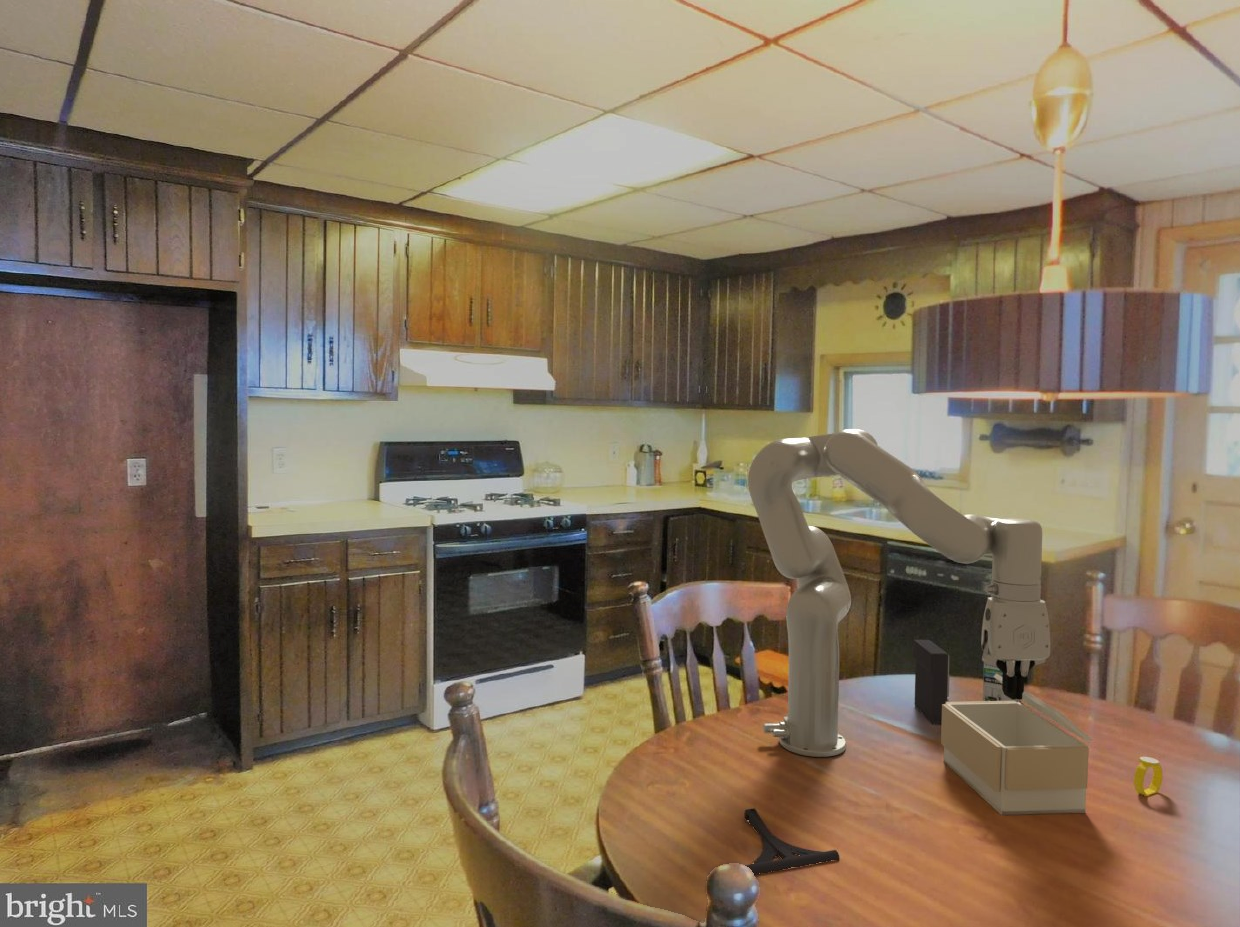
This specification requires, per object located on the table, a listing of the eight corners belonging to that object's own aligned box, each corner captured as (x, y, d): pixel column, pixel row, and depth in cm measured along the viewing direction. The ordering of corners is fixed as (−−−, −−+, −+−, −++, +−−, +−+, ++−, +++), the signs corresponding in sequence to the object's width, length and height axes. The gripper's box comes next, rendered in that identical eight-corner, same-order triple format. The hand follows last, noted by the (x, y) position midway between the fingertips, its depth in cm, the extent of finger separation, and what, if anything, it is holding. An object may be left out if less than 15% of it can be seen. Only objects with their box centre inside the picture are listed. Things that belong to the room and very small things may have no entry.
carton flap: (1056, 715, 129) (1059, 711, 129) (993, 676, 148) (996, 673, 148) (1089, 743, 130) (1092, 739, 130) (1022, 701, 149) (1025, 698, 149)
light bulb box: (1015, 714, 173) (1017, 665, 172) (981, 708, 177) (982, 660, 176) (1020, 699, 182) (1021, 652, 182) (987, 694, 186) (989, 648, 185)
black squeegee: (788, 815, 130) (788, 798, 130) (839, 864, 116) (839, 845, 116) (705, 829, 126) (706, 812, 125) (748, 882, 111) (748, 862, 111)
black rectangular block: (950, 725, 167) (952, 653, 166) (929, 724, 167) (931, 653, 166) (931, 706, 178) (932, 639, 177) (911, 705, 178) (913, 639, 177)
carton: (999, 817, 128) (1001, 750, 127) (937, 760, 150) (939, 702, 149) (1088, 815, 129) (1091, 748, 128) (1014, 758, 150) (1016, 700, 150)
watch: (1148, 788, 139) (1151, 754, 139) (1165, 795, 137) (1168, 760, 137) (1128, 793, 136) (1131, 758, 136) (1145, 800, 134) (1148, 764, 134)
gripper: (984, 596, 133) (981, 705, 134) (1071, 595, 134) (1067, 703, 135) (962, 587, 141) (959, 690, 142) (1045, 586, 142) (1042, 689, 143)
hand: (1012, 696), depth 138 cm, fingers closed
